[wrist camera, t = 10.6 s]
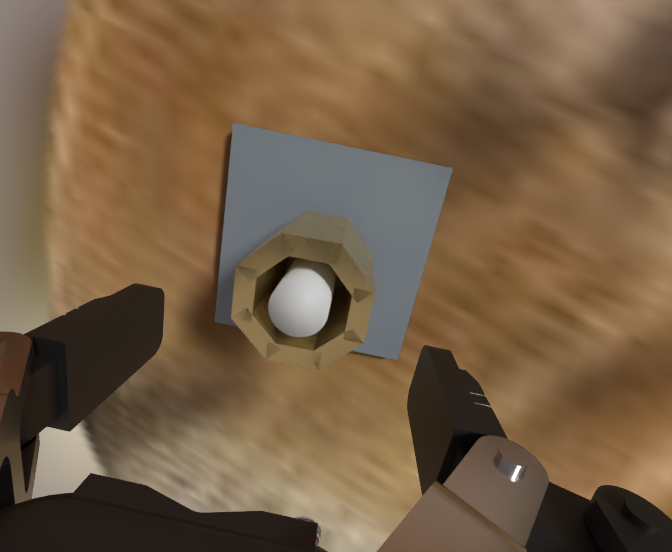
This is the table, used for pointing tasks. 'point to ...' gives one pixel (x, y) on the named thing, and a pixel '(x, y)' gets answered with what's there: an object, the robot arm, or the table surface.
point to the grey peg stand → (335, 199)
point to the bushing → (347, 302)
